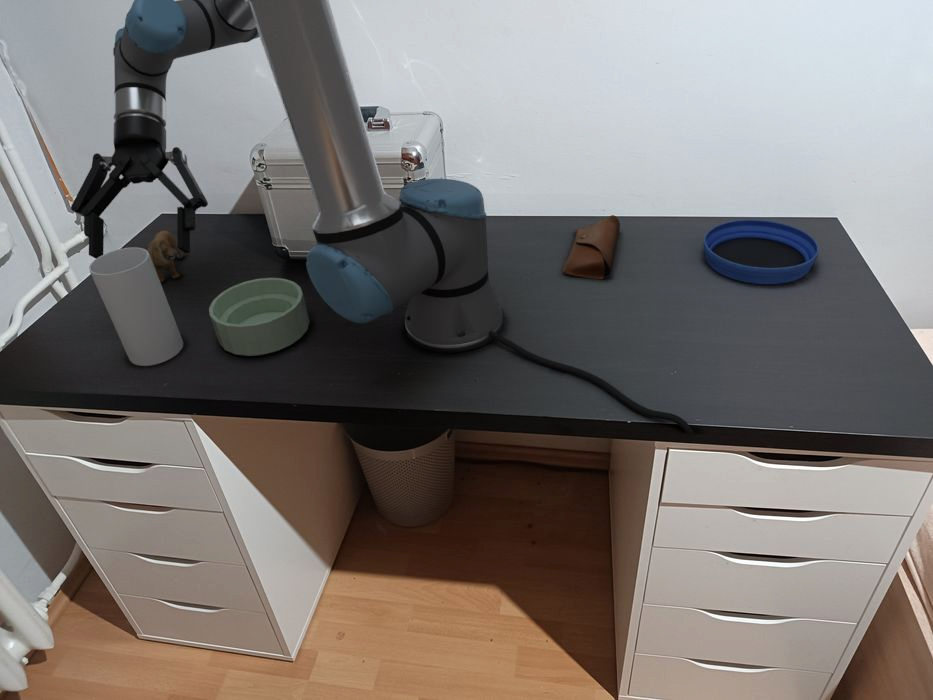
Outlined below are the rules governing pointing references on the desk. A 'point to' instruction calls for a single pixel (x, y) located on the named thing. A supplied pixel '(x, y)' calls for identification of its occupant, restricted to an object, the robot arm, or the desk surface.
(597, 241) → the sunglasses case
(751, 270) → the blue plastic ring
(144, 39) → the robot arm
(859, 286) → the desk surface
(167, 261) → the lion figurine
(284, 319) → the ceramic bowl
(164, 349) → the cup
